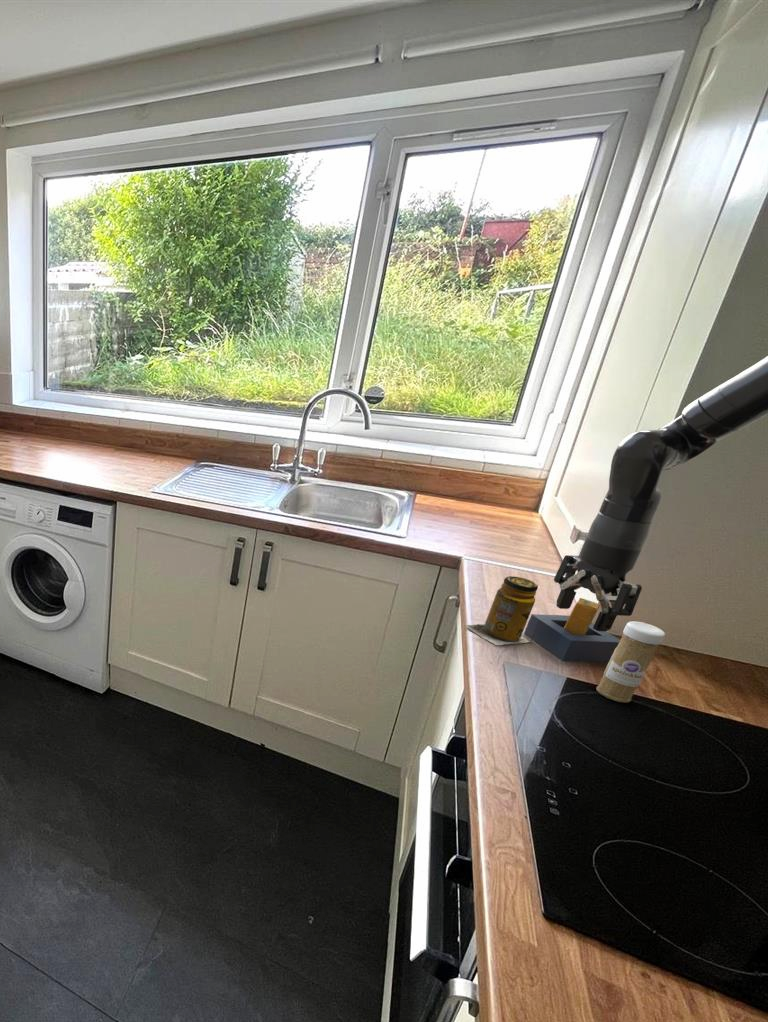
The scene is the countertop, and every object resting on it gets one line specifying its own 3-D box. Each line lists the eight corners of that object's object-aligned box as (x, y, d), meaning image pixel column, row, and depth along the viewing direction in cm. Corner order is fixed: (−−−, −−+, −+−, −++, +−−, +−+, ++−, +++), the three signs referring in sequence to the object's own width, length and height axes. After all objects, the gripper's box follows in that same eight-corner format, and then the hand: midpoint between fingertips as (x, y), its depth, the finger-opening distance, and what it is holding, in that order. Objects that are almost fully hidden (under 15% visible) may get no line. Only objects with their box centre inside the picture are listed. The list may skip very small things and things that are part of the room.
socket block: (614, 663, 109) (624, 642, 107) (562, 661, 109) (571, 640, 107) (572, 635, 118) (580, 615, 116) (523, 633, 118) (531, 614, 116)
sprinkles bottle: (602, 699, 98) (635, 630, 93) (590, 684, 102) (622, 617, 97) (636, 706, 96) (672, 637, 91) (623, 691, 100) (657, 623, 95)
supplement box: (577, 654, 111) (598, 608, 107) (554, 646, 113) (574, 601, 109) (580, 648, 113) (600, 603, 109) (558, 641, 115) (577, 596, 111)
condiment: (530, 642, 114) (553, 588, 110) (495, 646, 113) (516, 591, 108) (497, 623, 121) (517, 571, 116) (463, 626, 119) (482, 574, 115)
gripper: (674, 556, 98) (634, 639, 104) (601, 526, 111) (569, 601, 117) (629, 555, 98) (592, 637, 104) (562, 525, 111) (532, 600, 117)
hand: (580, 618), depth 111 cm, fingers open, 8 cm apart
